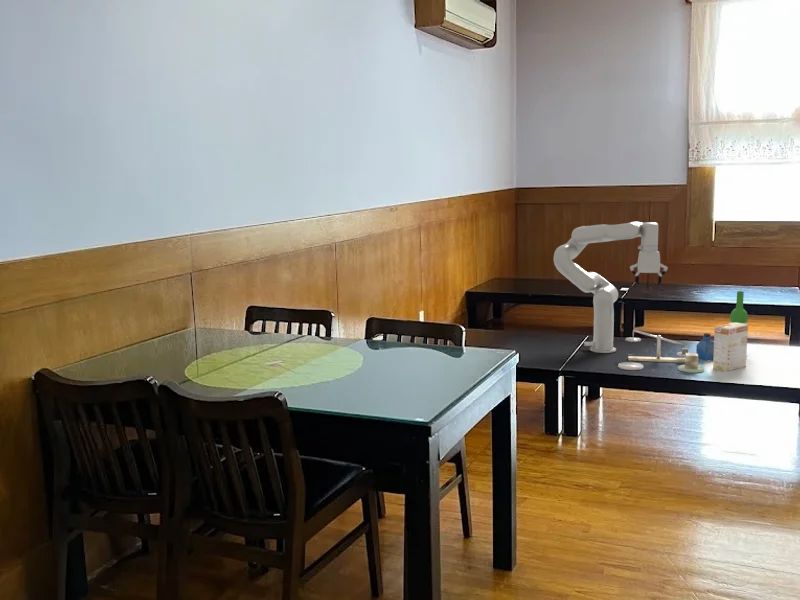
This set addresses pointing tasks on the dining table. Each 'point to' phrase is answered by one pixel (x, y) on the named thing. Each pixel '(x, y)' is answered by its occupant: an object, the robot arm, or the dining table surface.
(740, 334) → the coffeecake box
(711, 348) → the perfume bottle
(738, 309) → the wine bottle
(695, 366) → the birch block
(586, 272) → the robot arm
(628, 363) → the white dish
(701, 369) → the sage dish
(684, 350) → the balance scale
